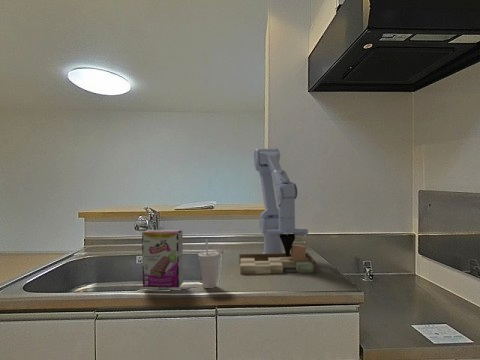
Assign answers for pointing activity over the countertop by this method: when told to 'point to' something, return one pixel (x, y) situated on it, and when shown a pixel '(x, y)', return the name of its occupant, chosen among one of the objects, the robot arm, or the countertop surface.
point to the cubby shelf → (275, 264)
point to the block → (298, 252)
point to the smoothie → (208, 267)
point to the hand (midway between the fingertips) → (287, 255)
